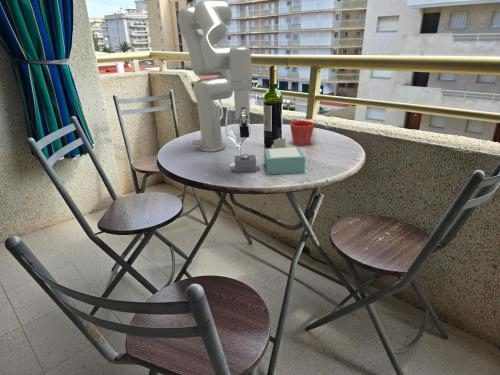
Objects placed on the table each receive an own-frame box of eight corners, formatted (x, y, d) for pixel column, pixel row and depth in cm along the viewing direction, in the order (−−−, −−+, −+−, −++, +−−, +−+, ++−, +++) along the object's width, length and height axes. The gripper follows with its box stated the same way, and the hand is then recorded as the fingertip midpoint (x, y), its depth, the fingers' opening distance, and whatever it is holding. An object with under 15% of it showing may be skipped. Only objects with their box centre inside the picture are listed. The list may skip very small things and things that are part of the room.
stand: (267, 174, 118) (267, 158, 115) (264, 163, 129) (264, 148, 126) (304, 172, 118) (305, 156, 116) (298, 161, 129) (299, 146, 127)
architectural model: (270, 154, 140) (270, 138, 137) (284, 152, 142) (284, 136, 139) (273, 156, 138) (273, 140, 134) (287, 154, 140) (288, 138, 136)
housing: (231, 173, 121) (230, 158, 118) (231, 168, 126) (230, 153, 123) (260, 171, 121) (260, 156, 118) (259, 166, 126) (259, 152, 123)
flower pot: (313, 146, 146) (314, 126, 142) (289, 146, 148) (289, 126, 144) (312, 140, 156) (313, 120, 152) (290, 140, 158) (290, 120, 154)
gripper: (231, 83, 118) (234, 129, 125) (230, 89, 102) (234, 140, 109) (251, 82, 118) (253, 128, 125) (253, 88, 102) (255, 139, 109)
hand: (244, 133), depth 117 cm, fingers open, 9 cm apart
